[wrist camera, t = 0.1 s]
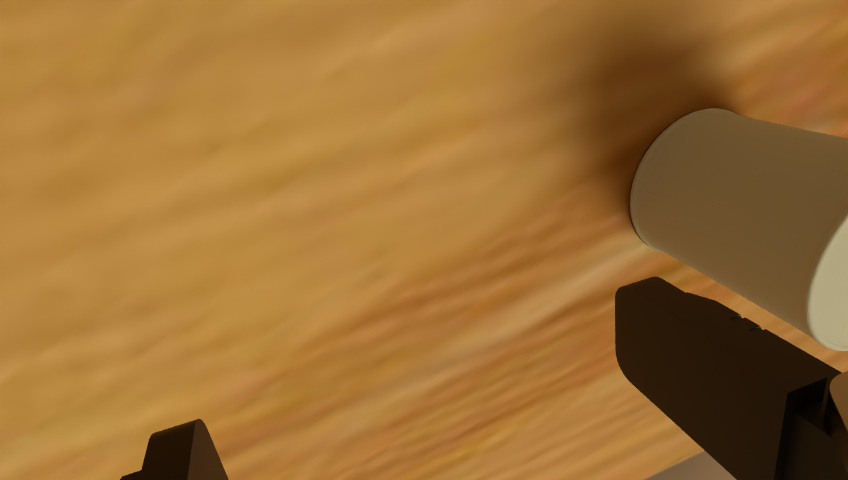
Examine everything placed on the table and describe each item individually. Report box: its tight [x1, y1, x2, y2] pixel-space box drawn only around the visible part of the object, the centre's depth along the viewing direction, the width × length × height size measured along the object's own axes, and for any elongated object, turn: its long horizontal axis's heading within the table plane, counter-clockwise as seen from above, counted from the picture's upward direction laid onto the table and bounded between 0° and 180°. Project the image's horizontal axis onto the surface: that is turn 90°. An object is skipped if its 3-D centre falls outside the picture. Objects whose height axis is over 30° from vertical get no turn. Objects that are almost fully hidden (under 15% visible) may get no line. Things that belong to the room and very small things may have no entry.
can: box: [630, 108, 848, 351], centre depth 27 cm, size 9×9×12 cm
